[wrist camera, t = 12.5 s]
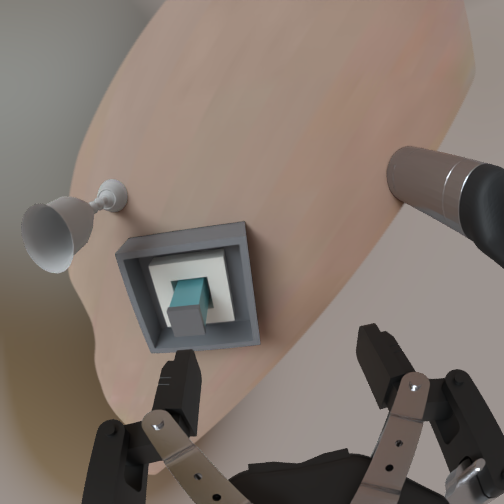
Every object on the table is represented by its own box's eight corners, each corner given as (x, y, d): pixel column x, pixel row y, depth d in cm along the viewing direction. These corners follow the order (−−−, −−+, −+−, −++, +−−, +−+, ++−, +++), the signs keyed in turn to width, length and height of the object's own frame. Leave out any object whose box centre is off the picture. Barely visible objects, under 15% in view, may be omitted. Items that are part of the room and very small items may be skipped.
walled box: (244, 221, 42) (246, 235, 36) (257, 321, 49) (260, 344, 43) (128, 238, 42) (114, 253, 36) (158, 331, 49) (151, 353, 43)
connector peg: (205, 271, 44) (198, 308, 35) (210, 294, 45) (205, 334, 36) (179, 274, 44) (166, 311, 35) (185, 297, 45) (174, 337, 36)
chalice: (85, 186, 38) (12, 224, 21) (118, 163, 37) (48, 189, 20) (108, 226, 41) (47, 282, 24) (141, 205, 40) (86, 256, 23)
